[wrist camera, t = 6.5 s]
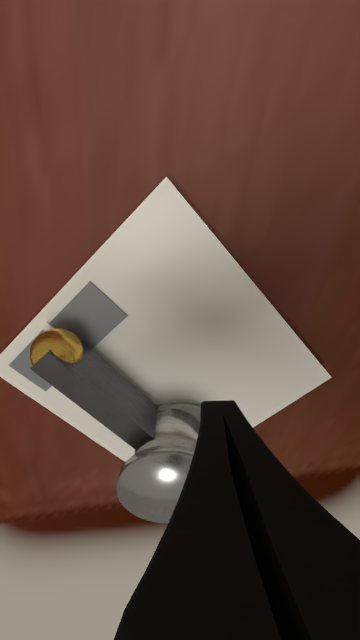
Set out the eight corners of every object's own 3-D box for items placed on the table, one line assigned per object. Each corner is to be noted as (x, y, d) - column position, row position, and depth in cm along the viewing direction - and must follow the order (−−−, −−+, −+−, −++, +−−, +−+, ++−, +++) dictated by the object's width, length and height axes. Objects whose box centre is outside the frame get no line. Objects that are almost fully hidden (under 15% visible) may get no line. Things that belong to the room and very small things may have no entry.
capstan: (239, 437, 21) (258, 504, 16) (175, 475, 23) (175, 545, 18) (86, 290, 16) (47, 324, 11) (18, 353, 18) (-40, 406, 13)
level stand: (321, 366, 20) (333, 379, 19) (161, 471, 25) (160, 488, 24) (167, 179, 15) (166, 176, 14) (0, 357, 20) (-15, 369, 18)
